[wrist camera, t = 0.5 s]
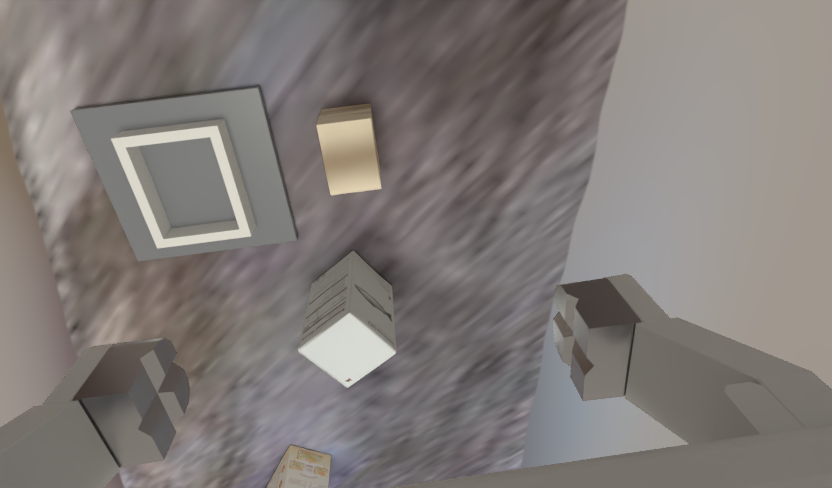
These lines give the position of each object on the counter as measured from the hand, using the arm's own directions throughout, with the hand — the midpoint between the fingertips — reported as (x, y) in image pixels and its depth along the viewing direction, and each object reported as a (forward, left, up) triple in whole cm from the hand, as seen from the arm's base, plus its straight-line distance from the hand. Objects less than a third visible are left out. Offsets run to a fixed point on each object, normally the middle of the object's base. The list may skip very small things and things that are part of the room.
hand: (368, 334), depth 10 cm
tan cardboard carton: (+8, -3, -42) cm, 43 cm away
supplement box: (+26, -6, -42) cm, 50 cm away
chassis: (+10, -20, -42) cm, 48 cm away
